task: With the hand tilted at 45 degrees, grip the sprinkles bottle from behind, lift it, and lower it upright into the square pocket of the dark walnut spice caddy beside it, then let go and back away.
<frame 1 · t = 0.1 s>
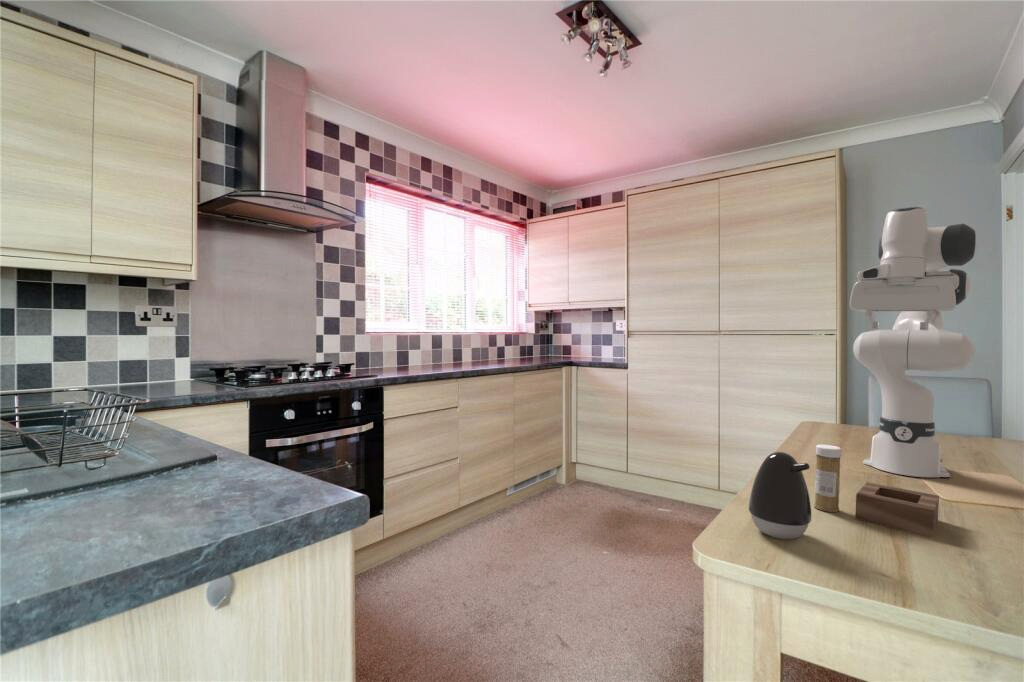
hand: (898, 329, 120), 39 cm above the table, tool pointing down, fingers open, 8 cm apart
pump dispenser: (778, 534, 92), on the table
sprinkles bottle: (826, 509, 105), on the table
spice caddy: (896, 519, 100), on the table
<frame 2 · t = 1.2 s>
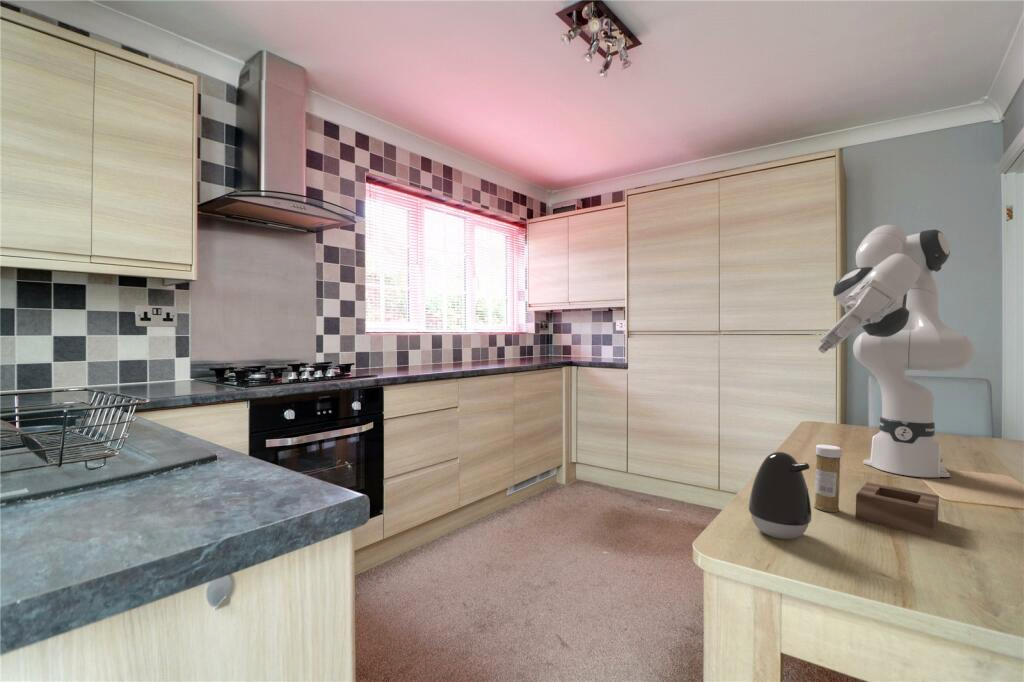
hand: (830, 342, 115), 35 cm above the table, tool tilted 50°, fingers open, 8 cm apart
nothing on the table moved.
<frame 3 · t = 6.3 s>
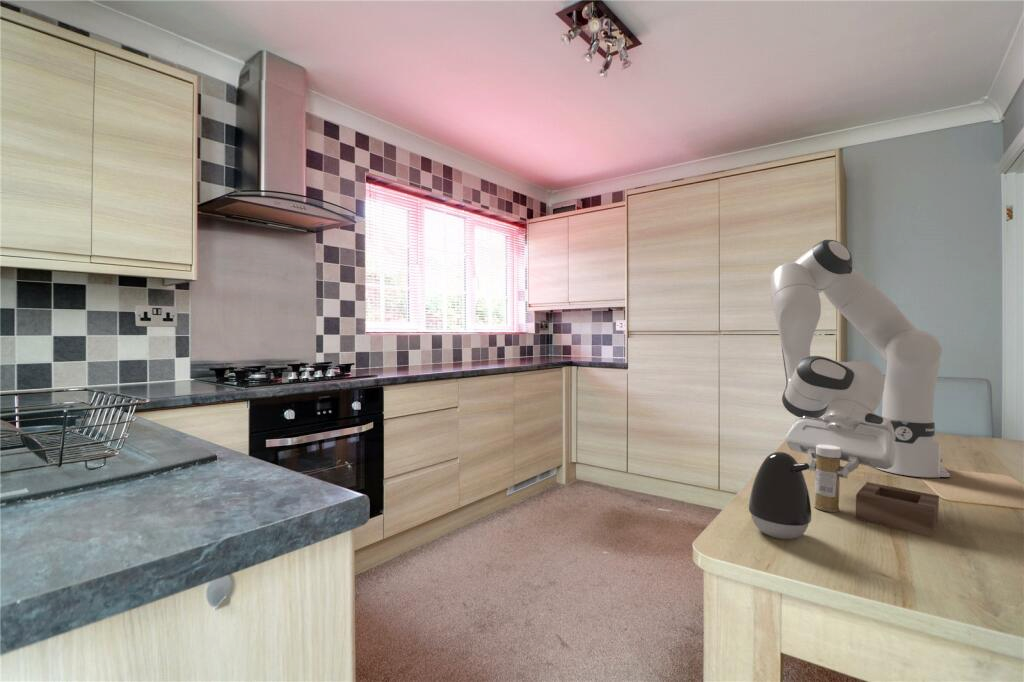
hand: (826, 472, 105), 8 cm above the table, tool tilted 45°, fingers closed on sprinkles bottle, 4 cm apart
sprinkles bottle: (826, 509, 105), on the table, touching gripper
everything else where it was.
when the fingers open (9 cm above the table, at t = 13.1 s): sprinkles bottle stays where it is, resting in spice caddy.
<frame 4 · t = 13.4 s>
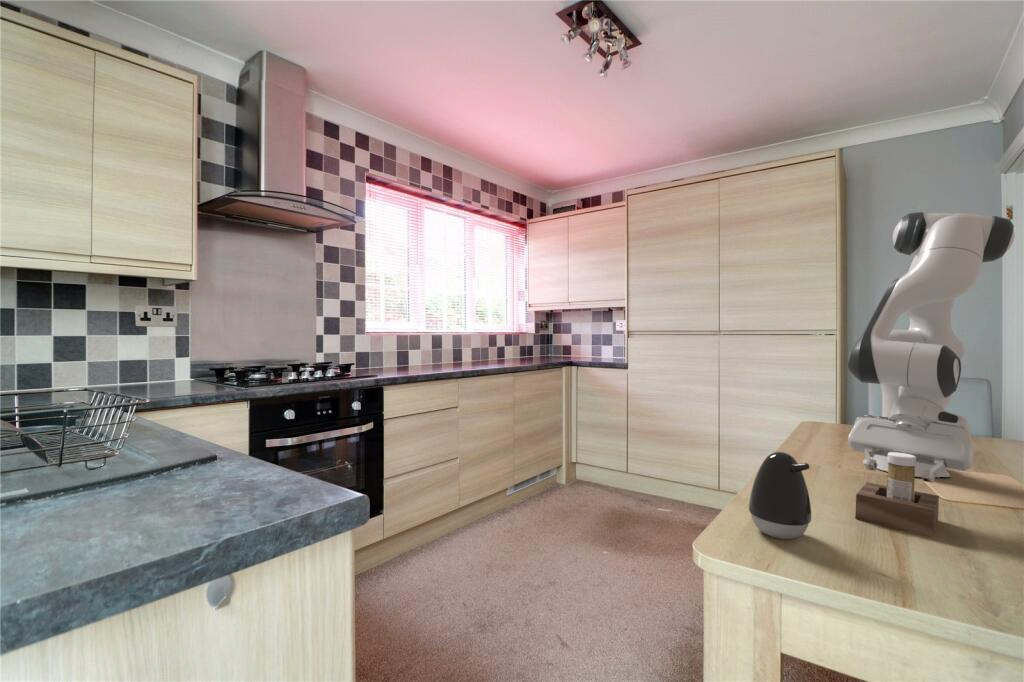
hand: (897, 474, 100), 9 cm above the table, tool tilted 45°, fingers open, 8 cm apart
sprinkles bottle: (899, 521, 100), resting in spice caddy
everything else where it was.
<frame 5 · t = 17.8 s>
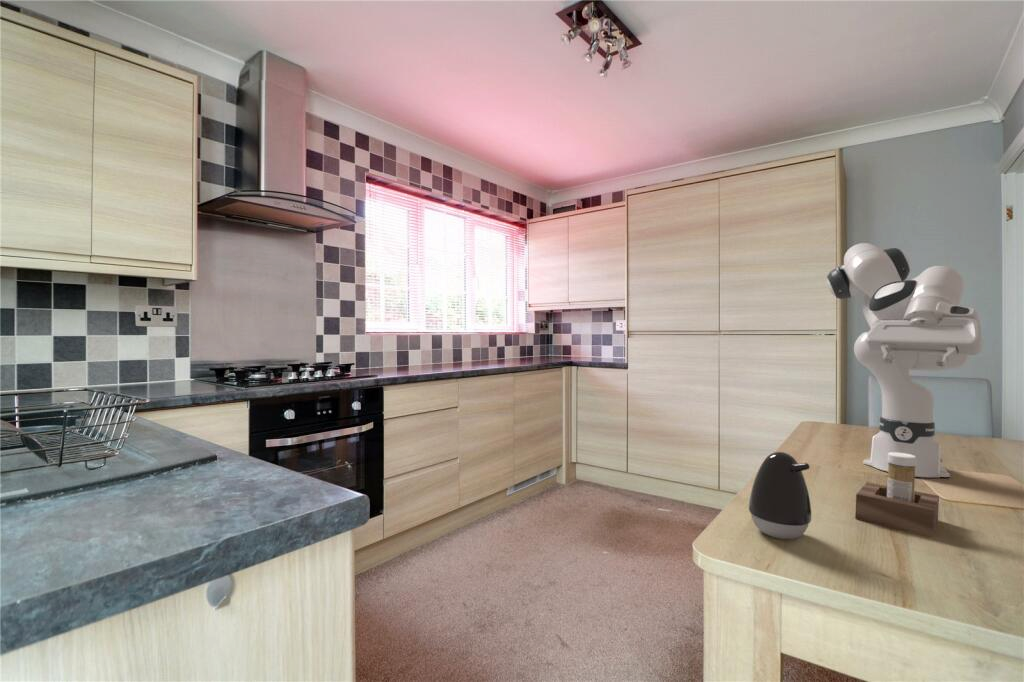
hand: (912, 363, 108), 31 cm above the table, tool tilted 45°, fingers open, 8 cm apart
nothing on the table moved.
at the end: sprinkles bottle 0.4 cm off-centre on the spice caddy, point 0.0 cm above the spice caddy's base; sprinkles bottle tilted 0°; the gripper is holding nothing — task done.
